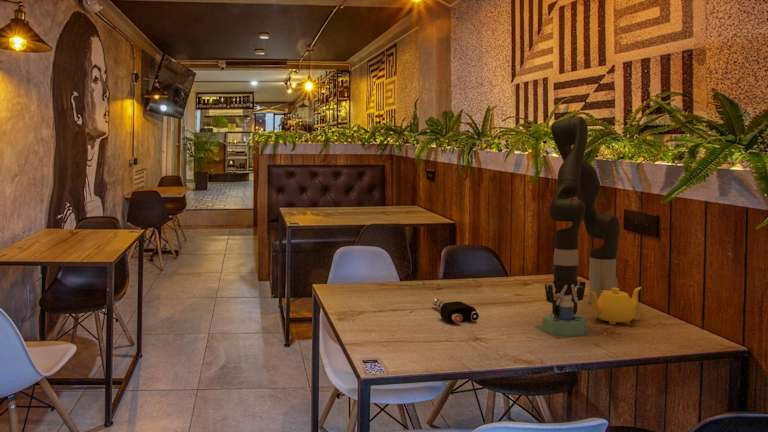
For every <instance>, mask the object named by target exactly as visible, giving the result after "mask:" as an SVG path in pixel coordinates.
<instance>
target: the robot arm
mask: <svg viewBox="0 0 768 432" xmlns="http://www.w3.org/2000/svg"><path fill="white" fill-rule="evenodd" d="M550 130H551V131H550V132H551V136H552V139H553V142H554V144H555V146H556V149H557V151H558V152H559V155H560V157H561V159H562V161H563V162H562V164H561V165H560V166H559V169H558V172H557V180H556V191H555V194H554V196H553V199H552V200H551V203H550V206H549V210H548V213H549V216H550V218H551V220H553V222H565V223H566V222H567V223H569V222H571V223H572V224H571V225H570V226H569V227H564V228H559V229H557V230H556V231H555V234H554V251H553V272H552V274H553V281H552V283H545V284H544V290H545V291H544V292H545V298H546V302H548V303H550V304H551V306H552V312H551V313H553V314H554V316H559V312H560V305H559V303H560V300H561V299H562V298H563V295H566V294H571V295H572V299H571V301H572V302H573V303H574V314H577V313H578V303H579V302H580V301H583V300H584V296H585V292H586V291H585V290H586V285H587V283H586V282H585V281H583V280H578V277H579V260H580V259H579V233H580V228H581V224H582V222H583V224H584V228H585V231H586V233H587V235H588V237H590V238H592V239H595V240H596V239H597V240H603V244H602V245H601V246H598V247H593V248H591V249H590V250H589V273H588V275H589V276H588V277H589V278H588V280H589V281H588V303H589V304H590V305H592V295H591V293H590V292H589V291H591V292H594V293H596V295H597V300H598V298H599V297H600V293H601V291H603V290H607V291H612V290H611V288H619V286H618V283H619V279H618V278H617V277H616V274H617V253H618V249H619V236H620V220H619V218H618V216H616V215H615V214H614V215H613V214H605V213H598V211H597V209H596V206H595V205H596V200H597V199H598V196H599V194H600V193H601V192H600V191H601V182H600V179H599V176H598V173H597V171H596V169H595V168H594V166H592V164H590V163H589V162H588V161H586V160H585V159H584V156H585V153H586V147H587V143H588V136H589V135H588V134H589V132H588V131H589V128H588V125H587V122H586V120H585V118H584V117H583V116H581V115H578V116H573V117H568V118H562V119H558V120H556V121H554V122H552V124H551V126H550ZM572 198H573V199H572ZM574 198H575V199H574Z"/></svg>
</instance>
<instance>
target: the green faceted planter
mask: <svg viewBox="0 0 768 432" xmlns="http://www.w3.org/2000/svg"><path fill="white" fill-rule="evenodd" d="M542 325H543V330H544V331H546V332H548V333H550V334H553V335H561V336H577V335H583V334H584V333H585V331H586V329H587V317H585V316H583V315H580V314H577V313H576V314H574V320H570V321H564V320H557V319H556V316H554V314H553V313H552V312H551V313H546V314H545V315H543V317H542ZM577 337H578V336H577Z"/></svg>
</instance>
